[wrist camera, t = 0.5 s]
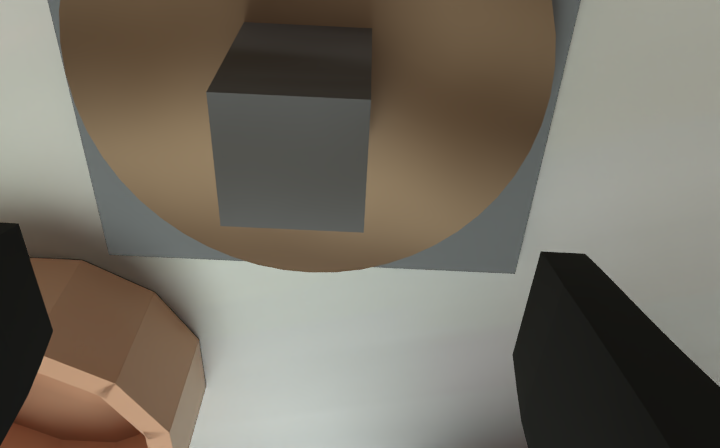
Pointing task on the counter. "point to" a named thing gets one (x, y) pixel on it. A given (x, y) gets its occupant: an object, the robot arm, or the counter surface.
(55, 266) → the bowl
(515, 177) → the mat
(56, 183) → the counter surface
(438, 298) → the counter surface
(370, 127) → the lid
